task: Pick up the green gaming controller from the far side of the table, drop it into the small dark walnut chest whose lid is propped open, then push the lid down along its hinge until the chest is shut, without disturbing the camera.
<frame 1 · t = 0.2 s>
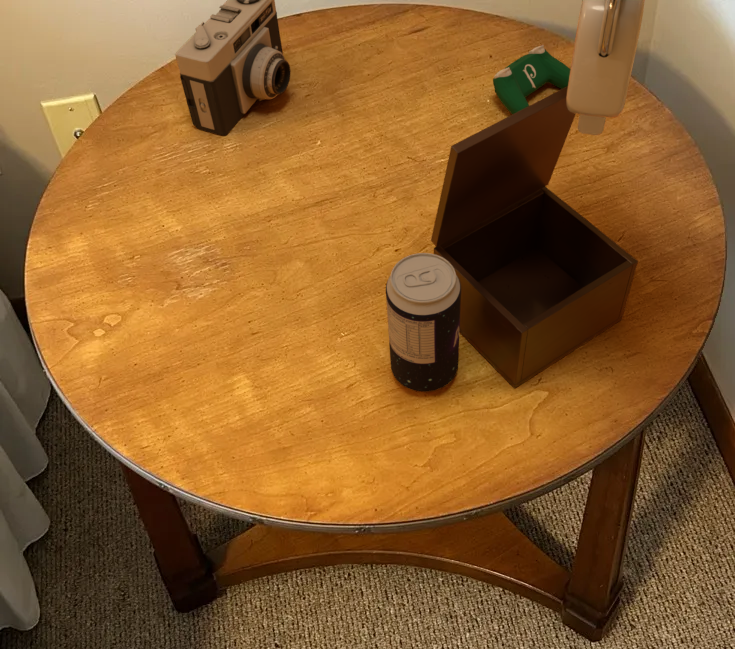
hand: (597, 88, 65), 20 cm above the table, tool pointing down, fingers open, 8 cm apart
lid: (504, 167, 68), point 14 cm above the table, hinge at 78.0°
camera: (254, 101, 99), on the table
beverage can: (424, 371, 74), on the table
chest: (526, 312, 77), on the table
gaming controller: (531, 97, 96), on the table
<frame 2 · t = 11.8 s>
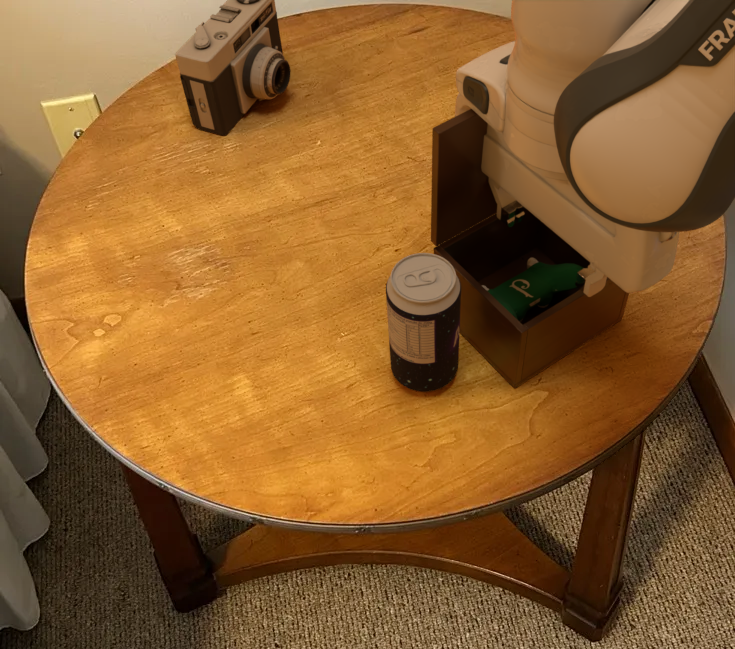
hand: (548, 252, 69), 9 cm above the table, tool pointing down, fingers open, 8 cm apart
lid: (495, 158, 69), point 14 cm above the table, hinge at 88.6°, touching gripper
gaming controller: (539, 313, 74), point 2 cm above the table, touching chest
everything else where it was.
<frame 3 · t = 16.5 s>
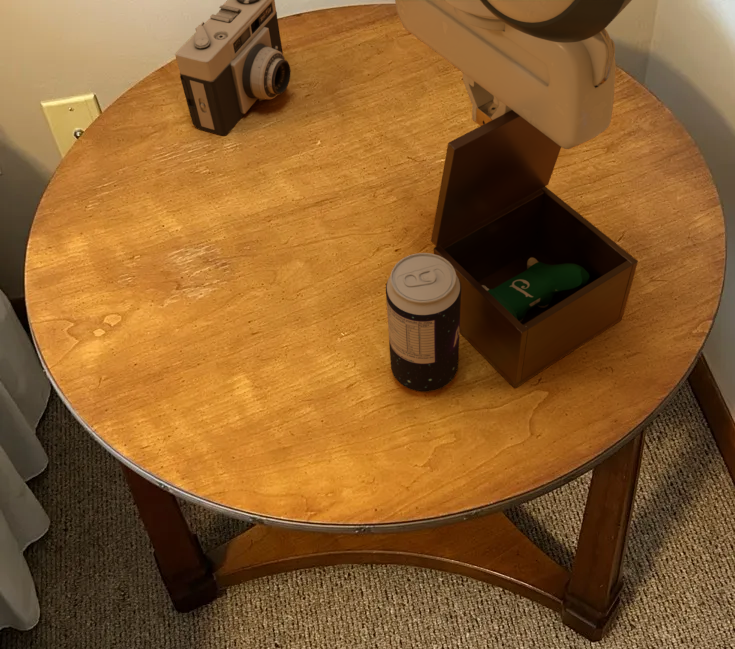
hand: (492, 127, 67), 17 cm above the table, tool pointing down, fingers closed
lid: (503, 165, 69), point 14 cm above the table, hinge at 79.7°, touching gripper
everything else where it was.
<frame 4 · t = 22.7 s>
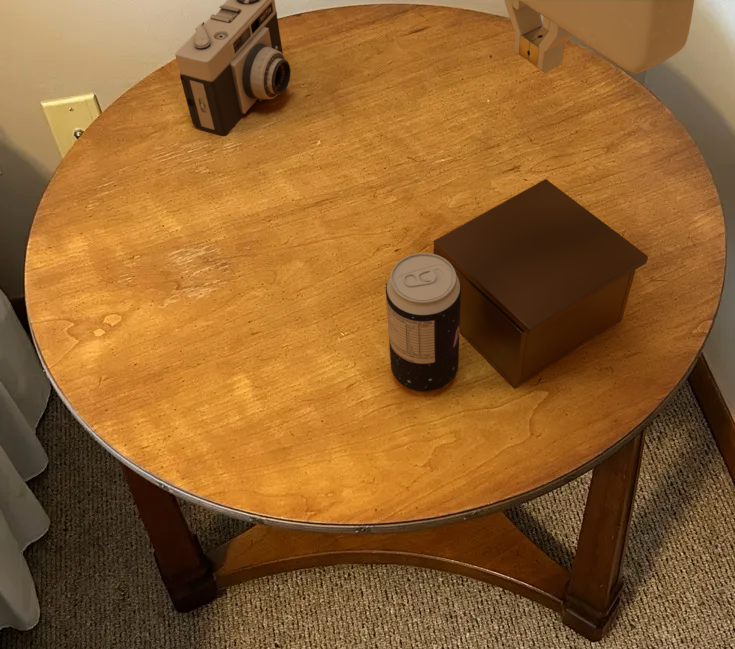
hand: (537, 59, 58), 25 cm above the table, tool pointing down, fingers closed
lid: (538, 251, 70), point 8 cm above the table, hinge at 1.8°
everything else where it was.
at the end: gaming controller inside the target area in the chest (1.9 cm from its centre), point 2.0 cm above the chest's base; lid at +2° (first picture: +78°); camera moved 0.2 cm from its start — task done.
